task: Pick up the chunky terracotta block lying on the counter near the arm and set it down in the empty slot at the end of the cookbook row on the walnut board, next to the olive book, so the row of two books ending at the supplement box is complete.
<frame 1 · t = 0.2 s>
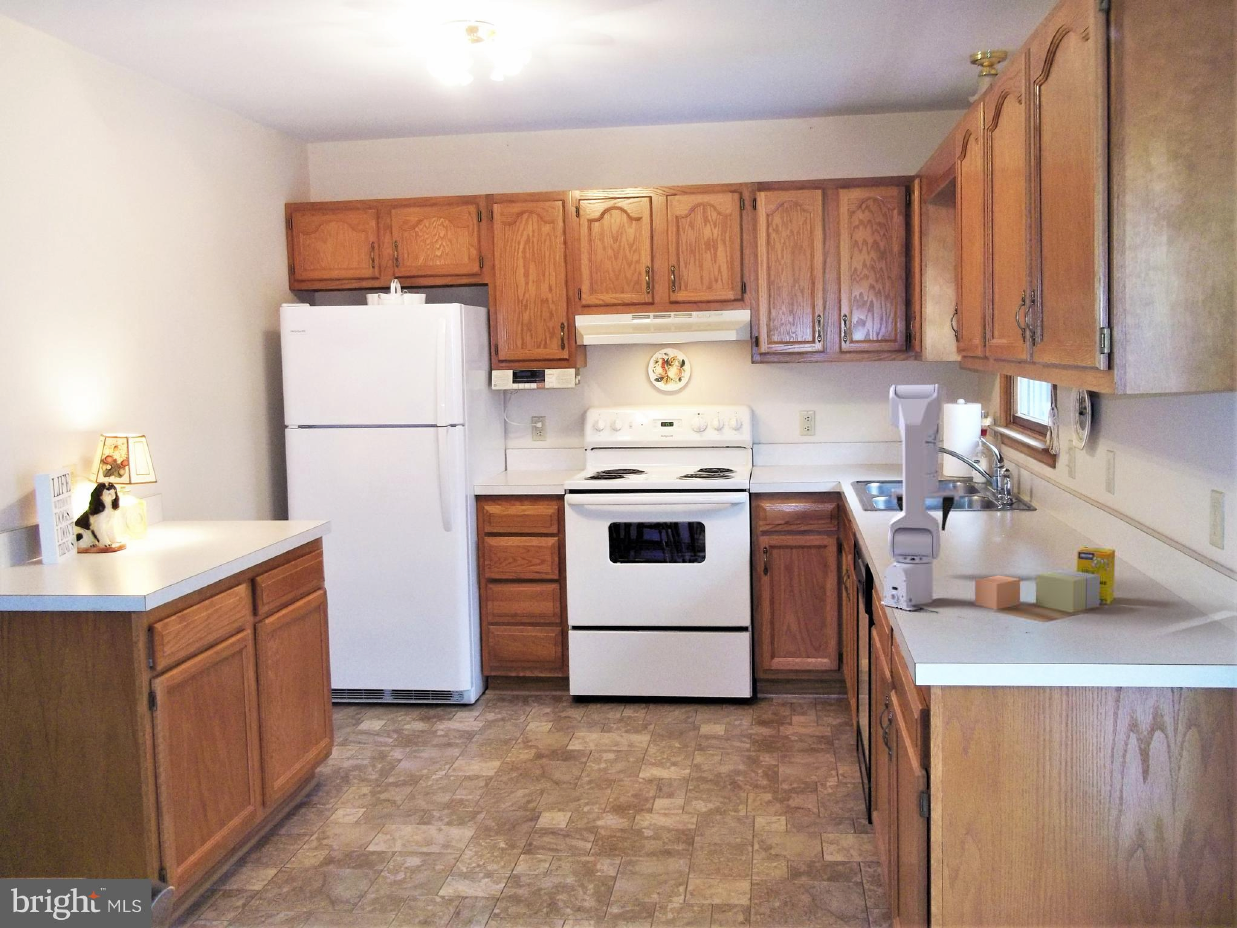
hand: (925, 528, 249), 11 cm above the countertop, tool pointing down, fingers open, 7 cm apart
terracotta block: (997, 609, 214), on the countertop
walnut board: (1051, 614, 209), on the countertop
olive book: (1060, 607, 211), point 1 cm above the countertop, touching walnut board
supplement box: (1095, 605, 216), on the countertop
slate book: (1074, 604, 213), point 1 cm above the countertop, touching walnut board
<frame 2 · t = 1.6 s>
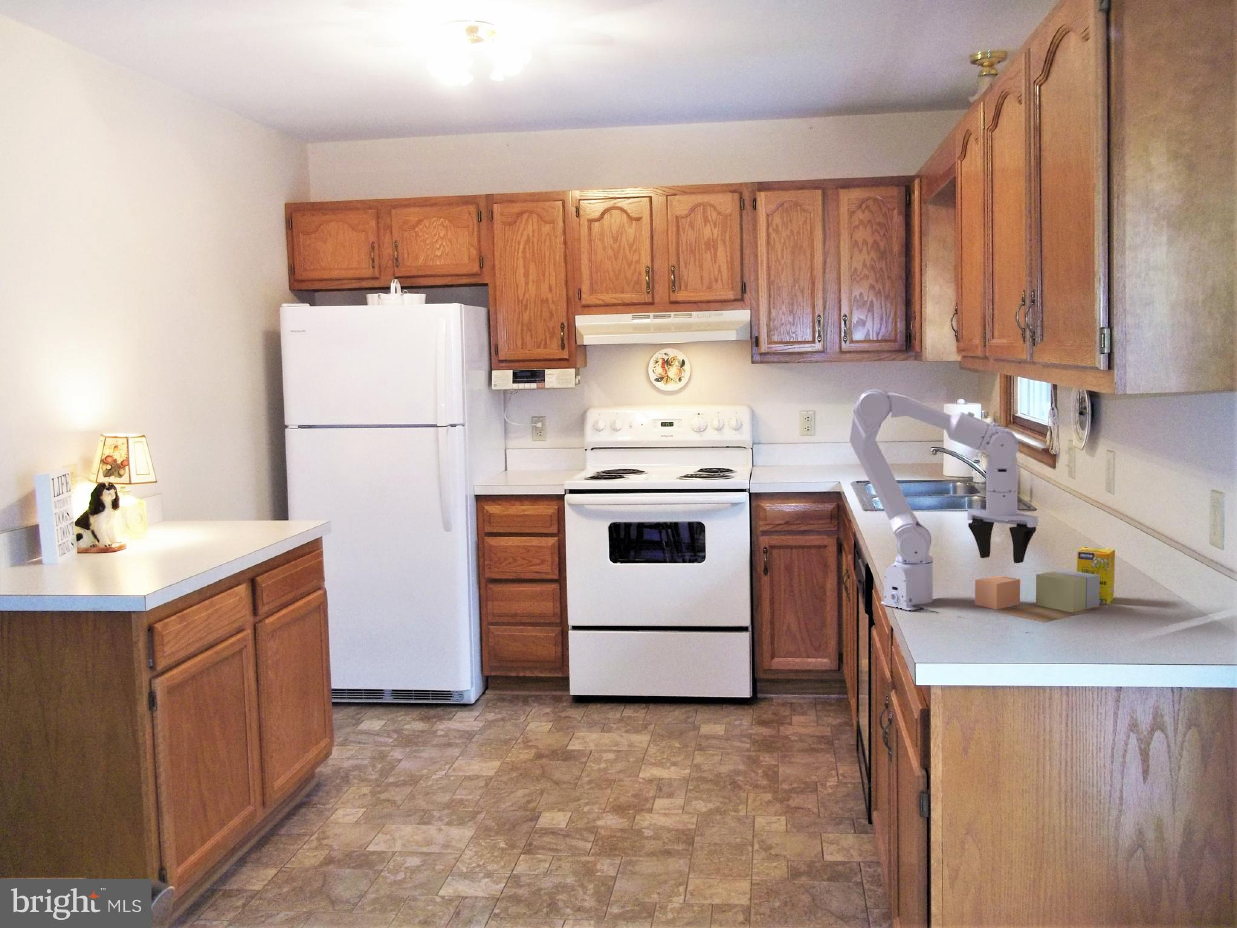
hand: (1001, 560, 214), 10 cm above the countertop, tool pointing down, fingers open, 7 cm apart
nothing on the countertop moved.
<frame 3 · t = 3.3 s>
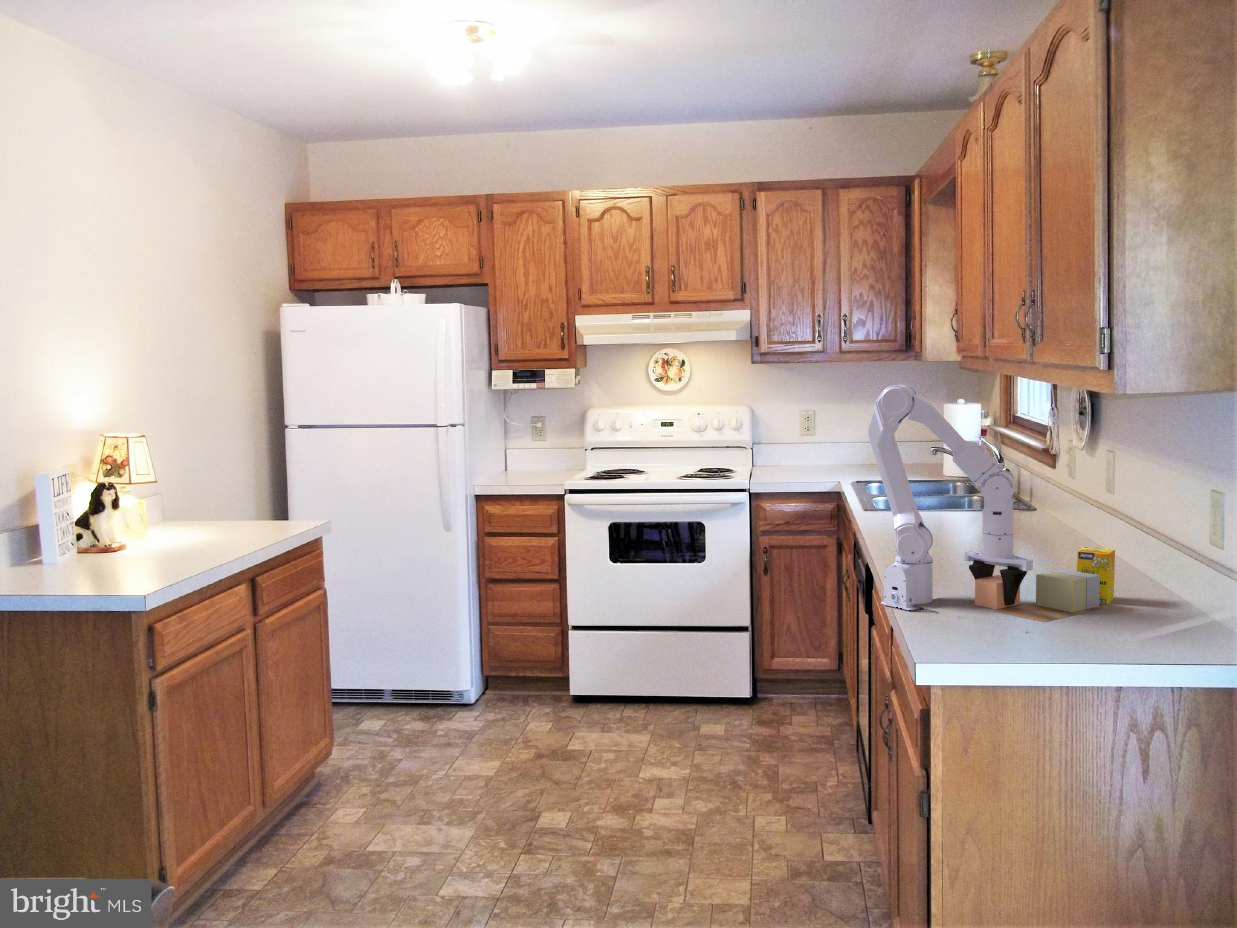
hand: (997, 602, 214), 1 cm above the countertop, tool pointing down, fingers closed on terracotta block, 5 cm apart
terracotta block: (997, 609, 214), on the countertop, touching gripper
everything else where it was.
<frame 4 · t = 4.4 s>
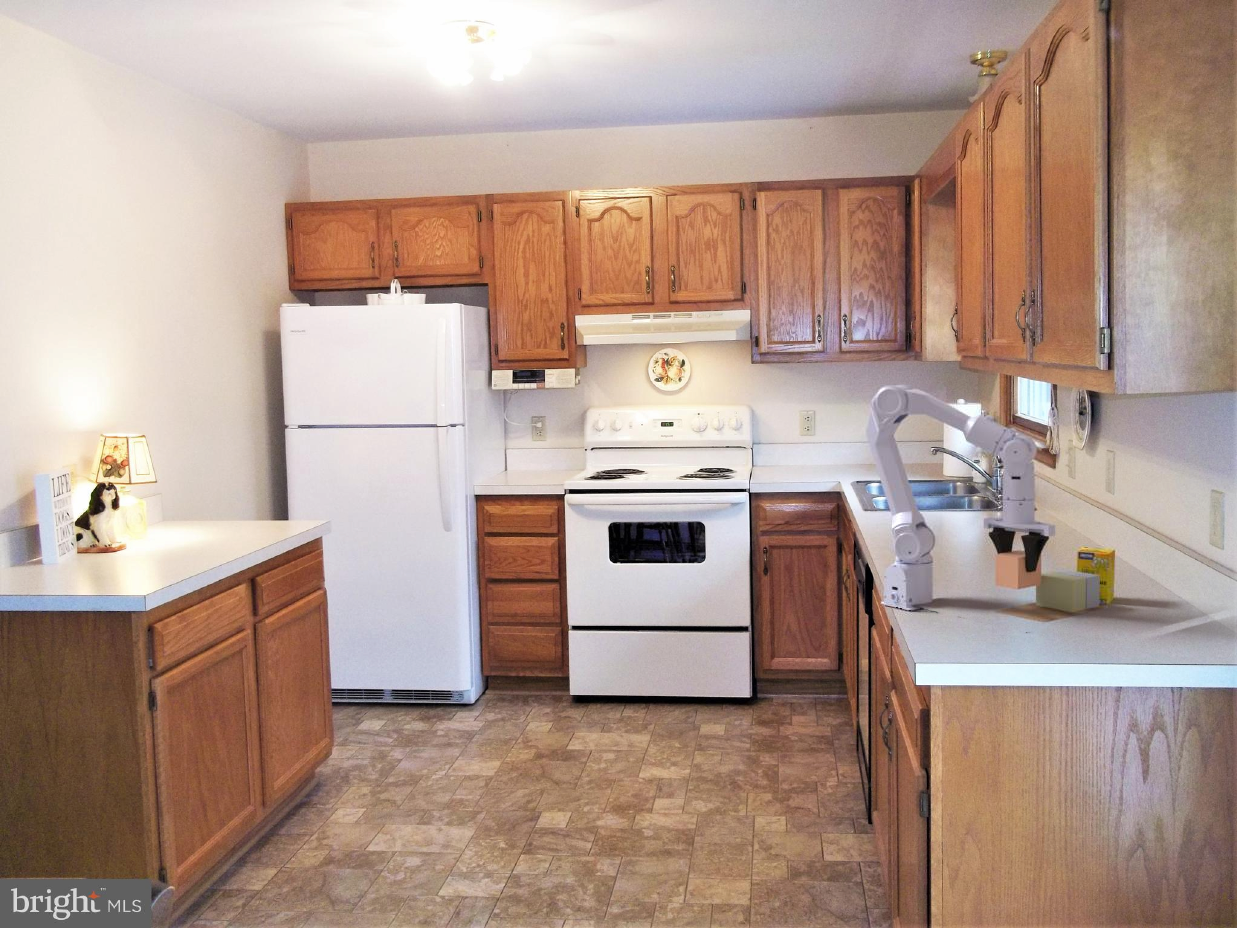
hand: (1018, 569, 210), 9 cm above the countertop, tool pointing down, fingers closed on terracotta block, 5 cm apart
terracotta block: (1018, 584, 210), point 6 cm above the countertop, touching gripper
everything else where it was.
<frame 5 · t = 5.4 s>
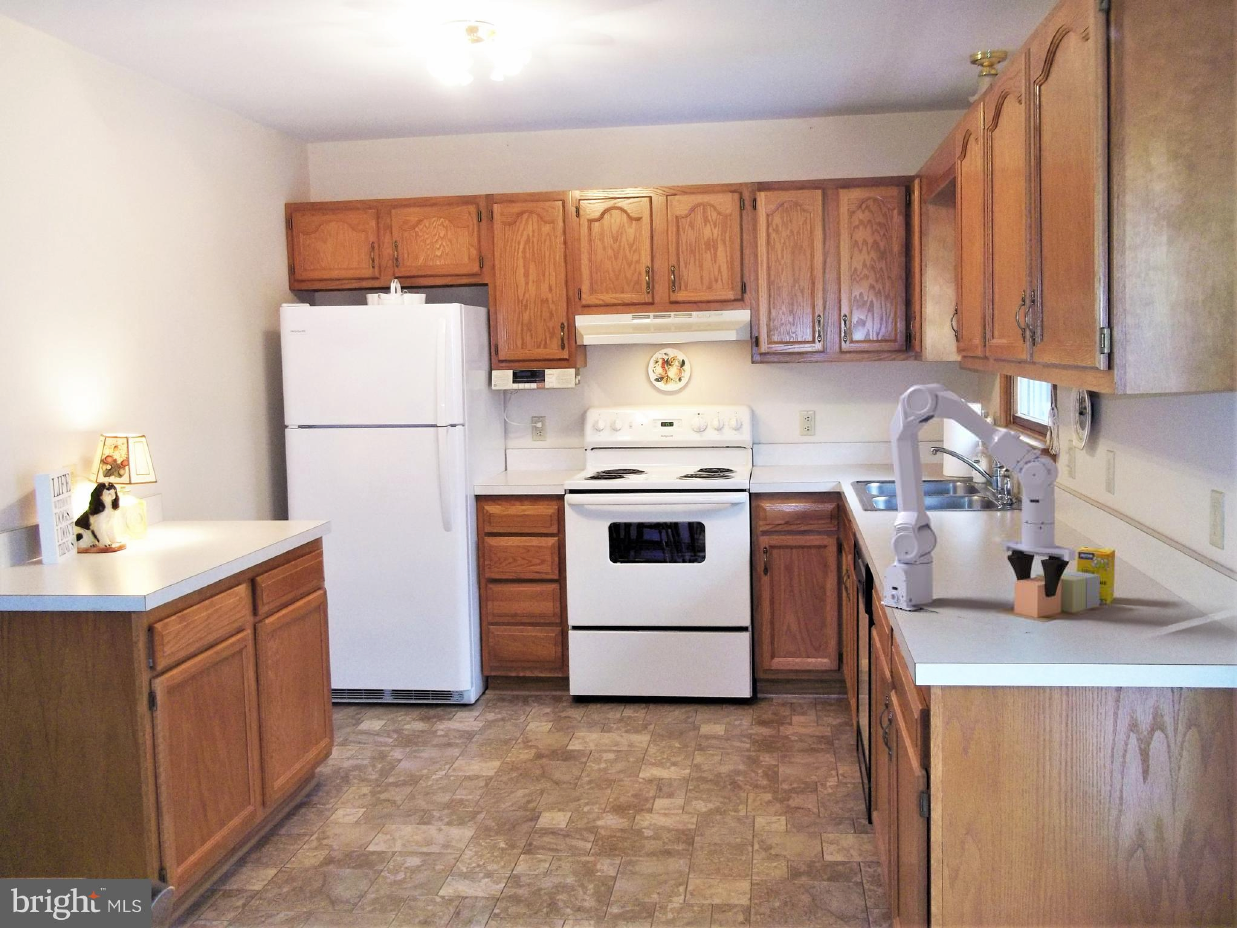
hand: (1037, 593, 206), 5 cm above the countertop, tool pointing down, fingers closed on terracotta block, 5 cm apart
terracotta block: (1037, 612, 207), point 1 cm above the countertop, touching gripper, walnut board
everything else where it was.
when the fingers open (4 cm above the countertop, at t = 5.9 s): terracotta block stays where it is, resting on walnut board.
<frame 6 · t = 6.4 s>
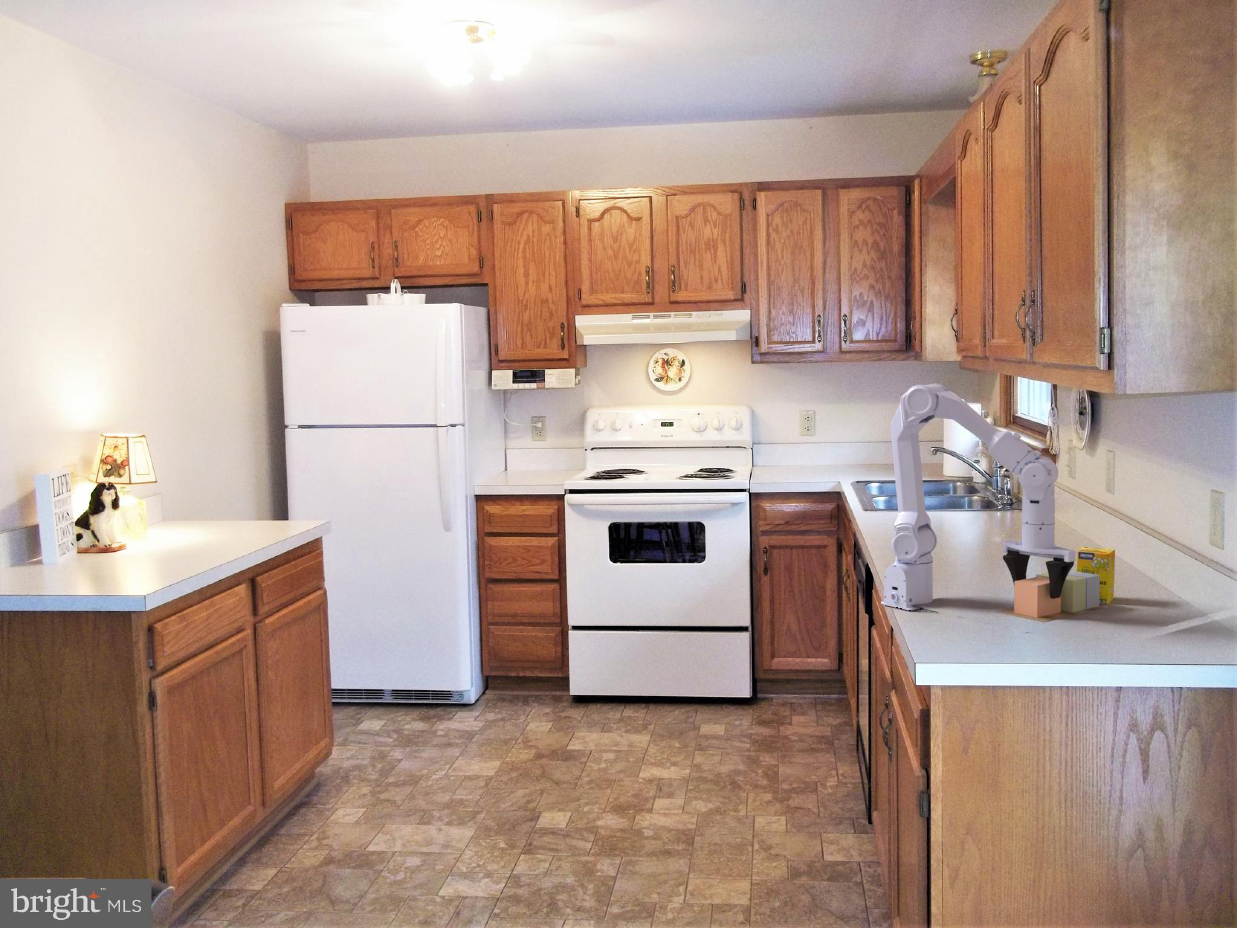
hand: (1037, 594, 206), 4 cm above the countertop, tool pointing down, fingers open, 7 cm apart
terracotta block: (1037, 612, 207), point 1 cm above the countertop, touching walnut board
everything else where it was.
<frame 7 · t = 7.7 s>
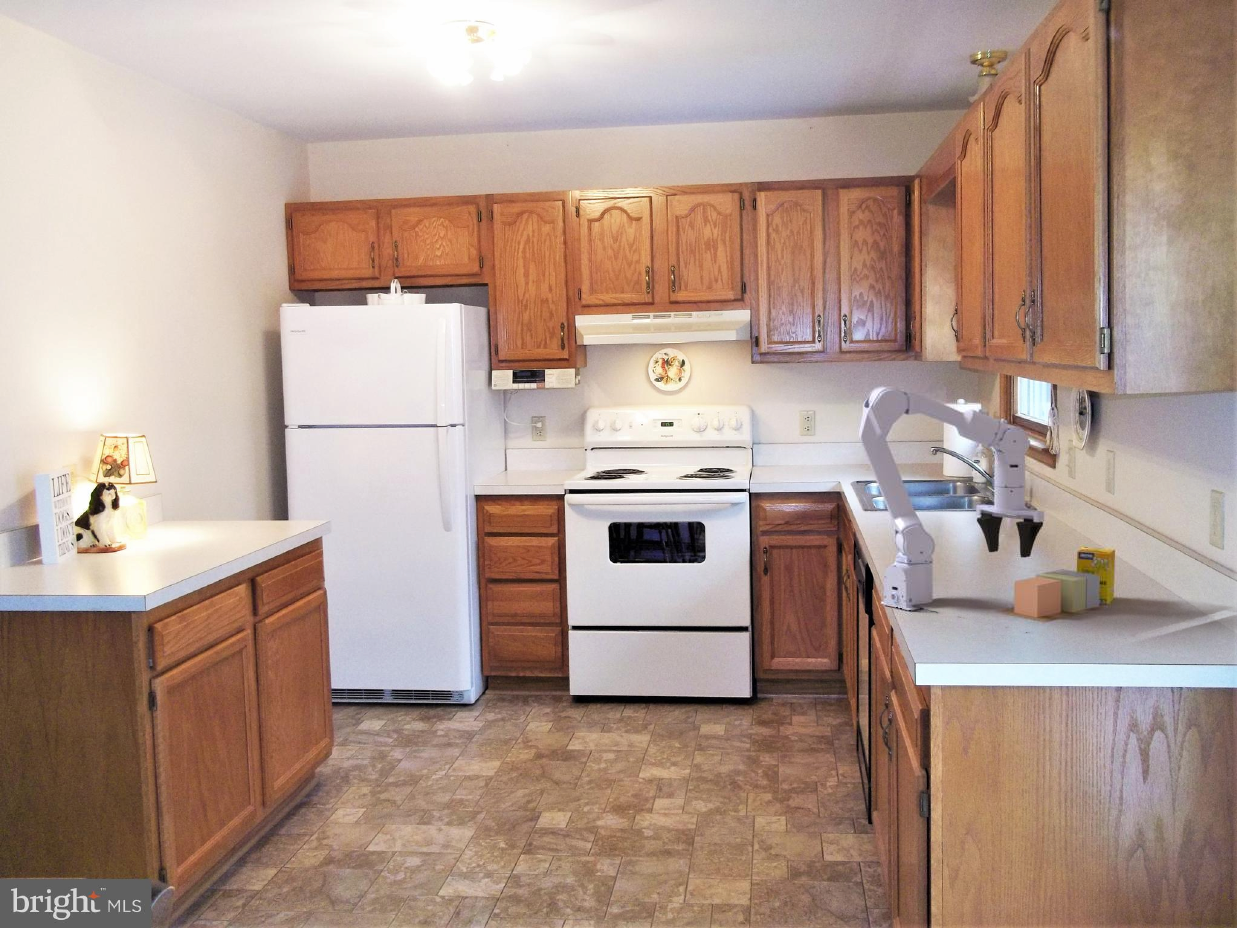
hand: (1009, 554, 218), 10 cm above the countertop, tool pointing down, fingers open, 7 cm apart
nothing on the countertop moved.
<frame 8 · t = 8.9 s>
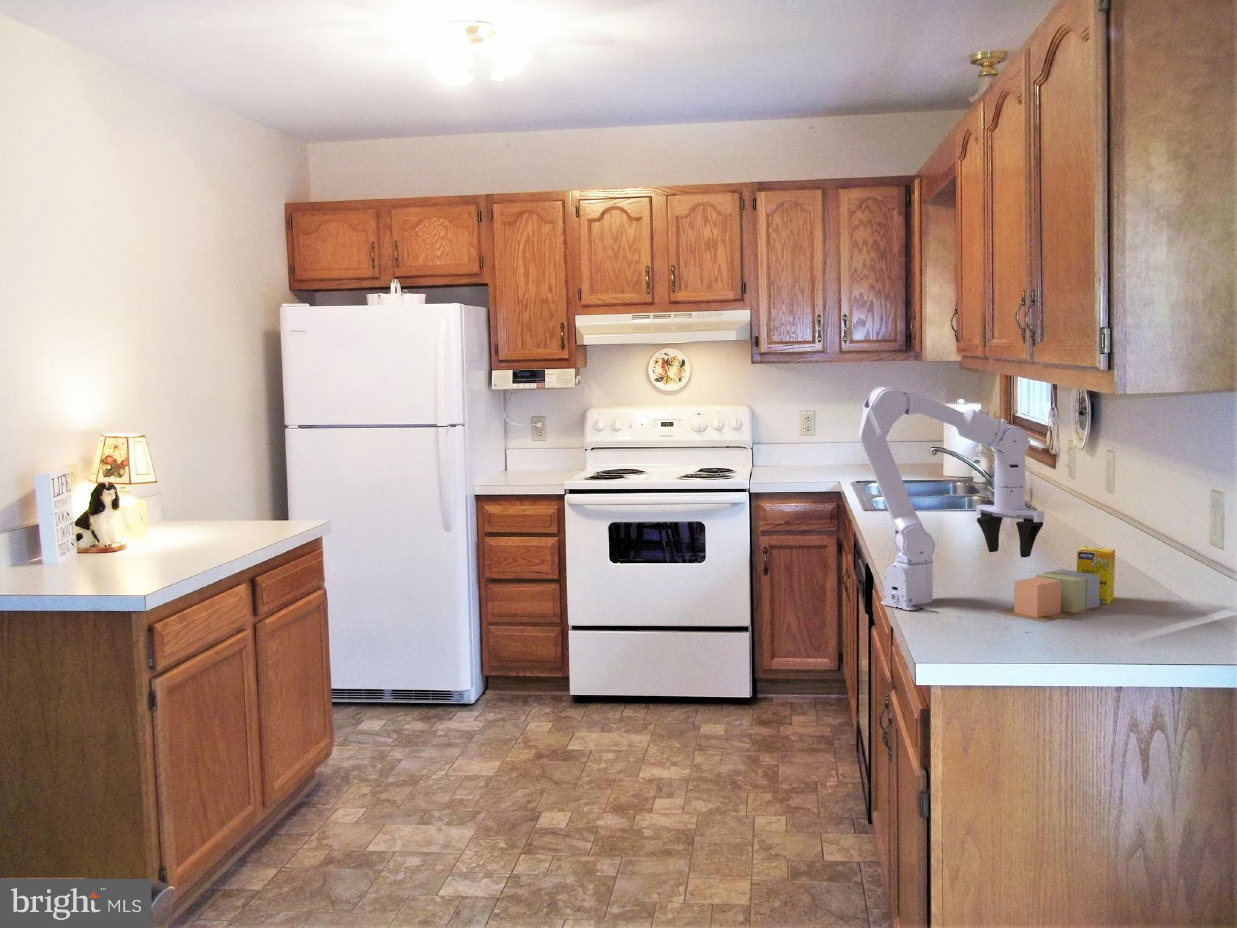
hand: (1009, 554, 218), 10 cm above the countertop, tool pointing down, fingers open, 7 cm apart
nothing on the countertop moved.
at the end: terracotta block 0.1 cm from the target spot, point 1.0 cm above the countertop; terracotta block tilted 0°; terracotta block 6.9 cm from the olive book (horizontally) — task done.
